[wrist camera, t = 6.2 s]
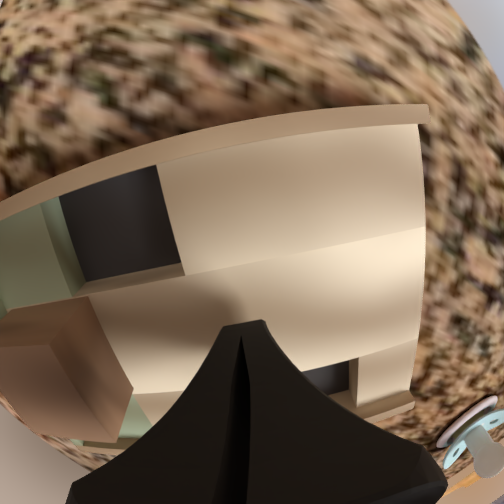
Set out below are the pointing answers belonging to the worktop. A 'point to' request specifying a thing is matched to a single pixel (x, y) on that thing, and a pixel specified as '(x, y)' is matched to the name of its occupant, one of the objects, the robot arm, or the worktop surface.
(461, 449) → the pacifier
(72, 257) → the tray
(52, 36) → the worktop surface
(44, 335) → the walnut block
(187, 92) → the worktop surface
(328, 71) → the worktop surface
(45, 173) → the worktop surface
